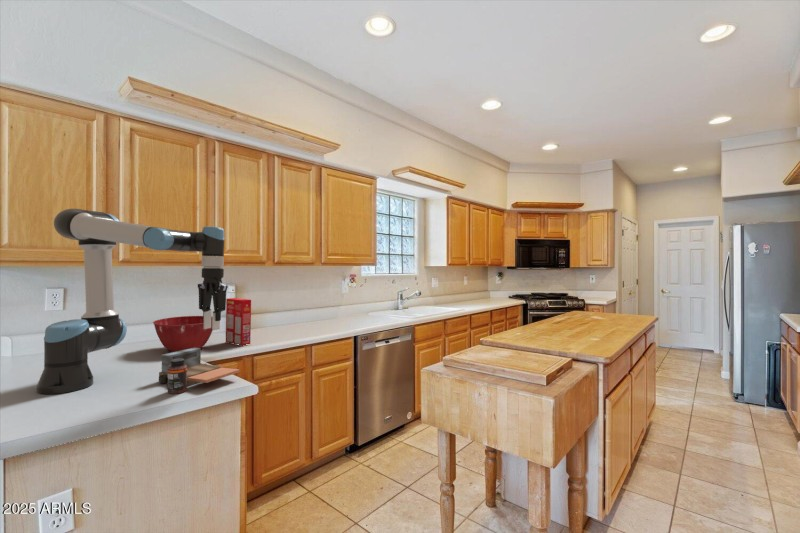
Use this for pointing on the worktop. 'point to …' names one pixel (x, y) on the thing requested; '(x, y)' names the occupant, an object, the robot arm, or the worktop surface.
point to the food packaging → (238, 321)
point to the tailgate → (213, 375)
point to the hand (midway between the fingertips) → (211, 328)
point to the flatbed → (190, 359)
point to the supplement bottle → (177, 376)
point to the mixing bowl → (182, 332)
